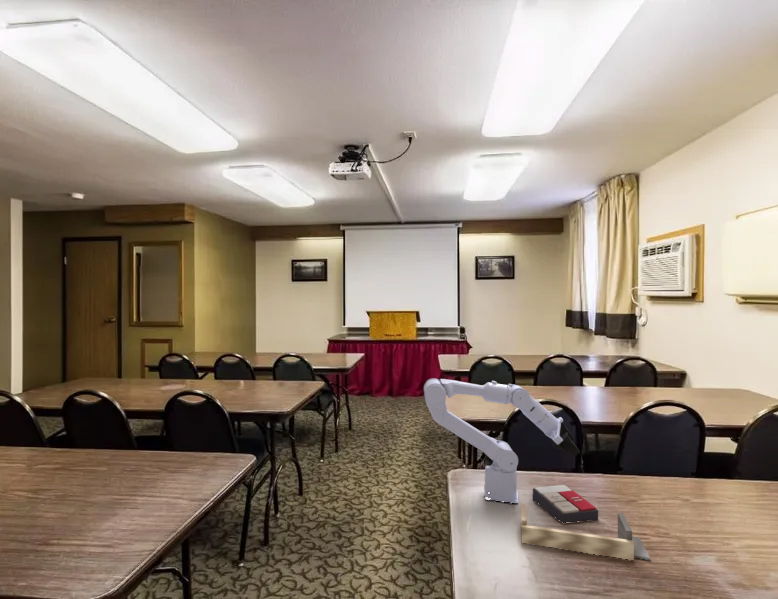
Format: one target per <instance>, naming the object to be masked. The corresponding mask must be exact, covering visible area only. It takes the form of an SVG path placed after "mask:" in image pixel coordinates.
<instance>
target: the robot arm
mask: <svg viewBox="0 0 778 599" xmlns="http://www.w3.org/2000/svg"><path fill="white" fill-rule="evenodd" d="M423 395H424V396H423V397H424V400H425V404H426V407H427V408H428V410H429V414H430V415H431V418H432V419H433V421H434V422H435V423H437V424H439V425H441V427H444V428H445V429H447V431H450V432H451V433H453V434H455V435H456V436H457V437H459V438H460V439H462V440H463V441H465V442H466V443H469V445H472V447H475V448H477V449H478V450H479V451H481V452H482V453H484V455H486V456H487V457H488V458H489V459H491V461H492V463H491V465H485V468H484V485H483V486H484V487H483V490H484V498H485V497H488V498H491V499H490V500H496V501H504V502H510V503H509V504H512V503H518V504H519V491H518V490H517V467H518V465H519V457H518V455H517V454H516V452H514V451H513V449H512V448H511V446H510V445H509V443H508V442H506V441H504V440H497V439H496V438H494V437H491V436H489V435H487V434H485V433H484V432H482V431H481V430H479V429H477V428H476V427H474V426H473V425H471V424H470V423H469V422H466V421H465V420H463V419H462V418H460V417H459V416H457V415H455V414H454V413H452V412H450V411H449V410H448V408H447V404H446V401H447V398H448V399H450V398H452V397H453V396H455V395H469V396H477V397H481V398H483V399H484V400H485V402H488V403H489V402H490V403H497V404H504V405H508V404H512V405H513V407H515V408H517V409H519V410H520V411H521V412H522V413H521V414H523V415H524V416H525V417H526V418H527V419H529V420H530V421H531V422H532V423H533V424H534V425H535V426H536V427H537V428H538V429H539V430H540V431H542V432H543V433H544V435H545V436H546V437H548V438H550V439H551V440H552V442H551V445H552V447H553V448H555V449H557V450H558V449H559V450H561V451H564V452H566V453H568V454H569V455H571V456H572V457H577V456H578V455H579V454H580V453H581V451H580V449H579V448H578V447H577V445H576V444H575V443H574V441H575V437H574V436H573V434H572V433H571V432H570V430H569V429H568V428H567V427H566V425H565V423H564V419H563V418H562V417H561V416H560V417H556V416H554V415H553V414H552V413H551V411H549V410H548V409H547V408H545V406H543V405H542V404H541V403H540V402H539V401H538V400H536V399H535V398H534V397H533V396H532V395H531V393H530V392H529V391H528V390H526V389H525V388H523V387H521V385H516V384H512V383H508V384H501V383H498V382H497V381H495V380H491V382H489V381H488V382H486V383H485V384H483V385H480V384H477V383H470V382H464V381H459V380H453V379H446V378H440V379H439V378H433V377H432V378H429V379H427V380H426V381H425V383H424V385H423ZM488 492H490V494H488ZM496 501H495V502H496ZM504 502H503V503H504Z"/></svg>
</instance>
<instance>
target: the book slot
mask: <svg viewBox="0 0 778 599" xmlns="http://www.w3.org/2000/svg"><path fill="white" fill-rule="evenodd" d="M520 506H521V513H520V514H521V544H523V543H527V544H526V545H529V544H532V545H531V546H535V545H540V546H539V547H542V546H547V547H546V548H548V547H554V548H561V549H568V550H573V551H572V552H574V551H577V552H576V553H580V552H583V553H582V554H586V553H588V555H593V554H595V555H594V556H599V555H602V556H601V557H605V556H611V557H610V558H612V557H617V558H616V559H618V558H622V559H621V560H625V559H628V560H627V561H631V560H634V561H635V559H636V558H640V559H639V560H642V559H645V561H649V560H650V561H651V556H650V554H649V553H648V550H647V548H646V547H645V545H644V544H643V542H642V540H641V537H638V536H633V530H632V529H631V527H630V525H629V523H628V522H629V521H628V520H627V518H626V517H625V515H624V513H623V512H617V537H612V536H604V535H599V534H592V533H591V534H590V533H584V532H577V531H570V530H563V529H558V528H557V529H556V528H548V527H542V526H536V525H528V517H527V504H524V503H521V505H520ZM533 544H534V545H533ZM554 548H553V549H554ZM561 549H560V550H561Z"/></svg>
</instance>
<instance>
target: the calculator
mask: <svg viewBox="0 0 778 599" xmlns="http://www.w3.org/2000/svg"><path fill="white" fill-rule="evenodd" d="M533 499H534V500H535V501H536V502H537V503H539V504H540V505H541V507H542V508H543V509H544V508H545V509H546V510H547V511H546V510H545V509H544V510H545V511H546V512H548V513H549V514H550V513H551V514H552V515H553V516H552V515H551V514H550V515H551V516H552V517H553V518H555V517H556V518H557V519H558V520H560V521H561V522H563V523H566V522H576V523H578V522H577V521H584V522H588V521H587V520H592V521H597V520H596V519H598V520H599V510H598V509H597V507H596V506H595V505H593V504H592V503H590V502H589V501H588V500H586V499H585V498H584V497H583V496H581V495H579V493H577V492H575V490H572V489H571V488H569V487H568V486H567V485H565V484H560V485H559V484H558V485H549V486H539V487H533V488H532V500H533ZM534 500H533V501H534ZM535 501H534V502H535ZM536 502H535V503H536ZM537 503H536V504H537ZM539 504H538V505H539ZM540 505H539V506H540ZM556 518H555V519H556ZM557 519H556V520H557ZM558 520H557V521H558ZM560 521H559V522H560ZM561 522H560V523H561Z"/></svg>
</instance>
